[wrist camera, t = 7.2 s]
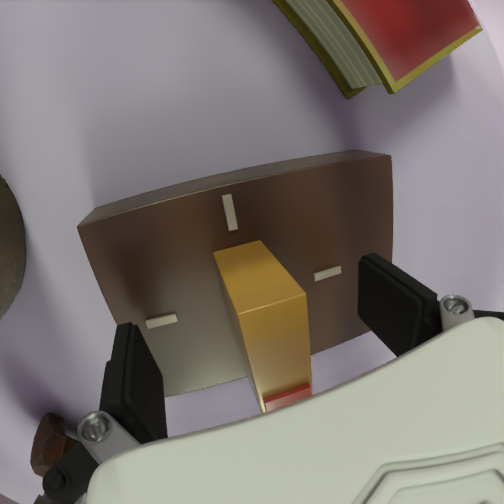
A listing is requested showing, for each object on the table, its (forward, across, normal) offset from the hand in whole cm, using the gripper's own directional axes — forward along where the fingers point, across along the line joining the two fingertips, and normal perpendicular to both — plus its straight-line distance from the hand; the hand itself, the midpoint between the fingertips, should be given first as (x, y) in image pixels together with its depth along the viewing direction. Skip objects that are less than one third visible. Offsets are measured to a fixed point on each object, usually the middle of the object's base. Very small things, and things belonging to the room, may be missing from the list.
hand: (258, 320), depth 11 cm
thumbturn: (+2, 0, 0) cm, 2 cm away
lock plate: (+5, -1, 0) cm, 5 cm away
